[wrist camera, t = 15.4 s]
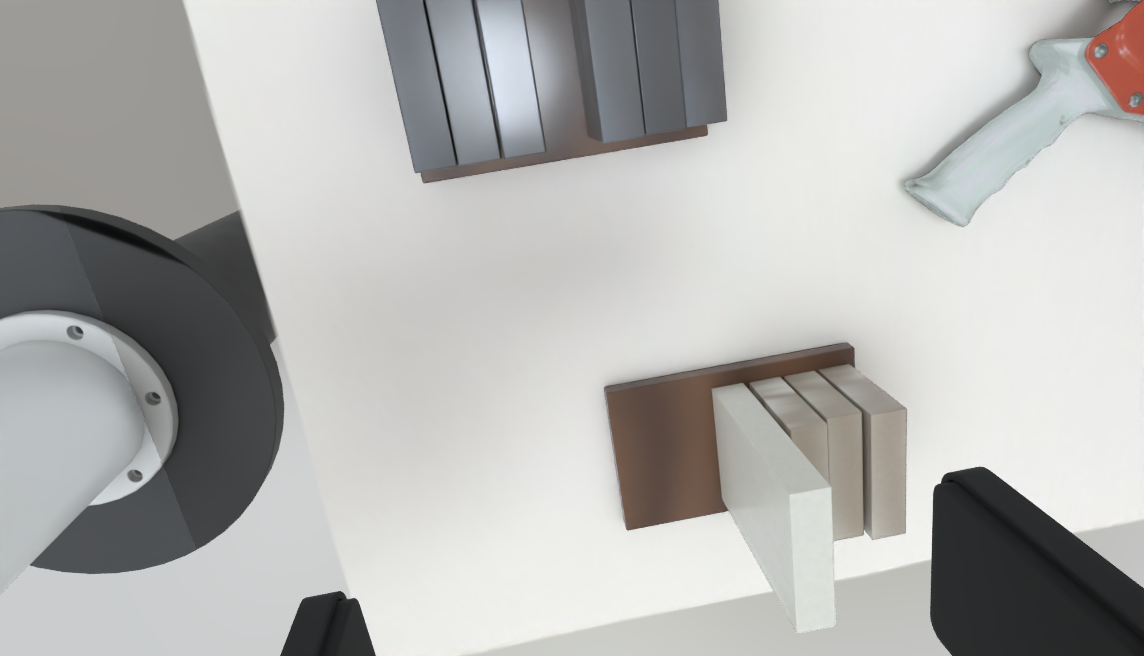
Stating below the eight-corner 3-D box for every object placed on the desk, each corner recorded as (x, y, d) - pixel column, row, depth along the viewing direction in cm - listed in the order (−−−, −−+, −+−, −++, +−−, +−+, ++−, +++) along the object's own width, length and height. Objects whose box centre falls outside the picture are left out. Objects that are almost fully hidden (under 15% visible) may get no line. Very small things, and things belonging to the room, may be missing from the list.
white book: (721, 499, 45) (796, 634, 34) (711, 388, 43) (789, 495, 31) (751, 493, 45) (836, 626, 34) (743, 382, 43) (831, 486, 31)
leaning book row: (624, 522, 46) (647, 599, 39) (603, 386, 43) (624, 444, 36) (850, 478, 47) (912, 546, 40) (847, 341, 44) (914, 390, 37)
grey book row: (424, 181, 38) (410, 198, 32) (379, -20, 35) (355, -44, 29) (703, 134, 39) (742, 142, 33) (685, -67, 35) (725, -100, 29)
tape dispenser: (877, 212, 43) (1189, 224, 44) (921, 233, 38) (1270, 246, 39) (946, -122, 36) (1309, -99, 37) (1009, -149, 31) (1426, -122, 32)
